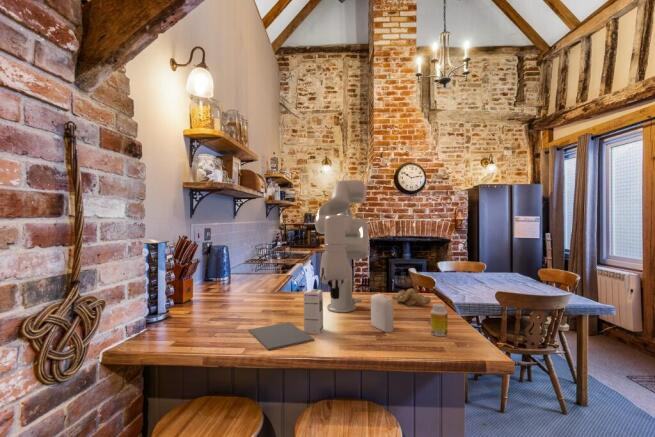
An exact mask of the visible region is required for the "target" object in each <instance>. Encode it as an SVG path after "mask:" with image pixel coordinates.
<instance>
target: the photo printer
mask: <svg viewBox="0 0 655 437" xmlns="http://www.w3.org/2000/svg"><path fill="white" fill-rule="evenodd" d="M394 323H395V322H394V302H393V300H392V299H391V298H390V297H389V296H387V295H386V294H383V293H375V294H373V295H372V296H371V297H370V324H371V326H373V327H374V328H376V329H379V330H380V331H382V332H386V333H392V332H393V331H394V330H395V329H394V326H395V324H394Z"/></svg>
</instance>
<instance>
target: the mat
mask: <svg viewBox="0 0 655 437" xmlns="http://www.w3.org/2000/svg"><path fill="white" fill-rule="evenodd" d="M248 332H249V333H250V335H252V336H253V337H254V338H255V340H257V341H258V342H259V343H260V344H261V345H262V346H263V347H265V349H266V350H267V351H272V350H277V349H282V348H285V347H292V346H295V345H300V344H305V343H309V342H314V341H315V338H314V337H312V336H311V335H310V334H308V333H305V332H304V330H302V329H300V328H299V327H297V326H296V325H295V324H293V323H291V322H289V321H288V322H283V323H278V324H273V325H266V326H261V327H254V328H250V329H248Z"/></svg>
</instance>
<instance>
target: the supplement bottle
mask: <svg viewBox="0 0 655 437" xmlns="http://www.w3.org/2000/svg"><path fill="white" fill-rule="evenodd" d="M430 333H431V335H433V336H434V337H447V335H448V311H447V310H446V305H445V304H443V303H433V305H432V309H431V310H430Z"/></svg>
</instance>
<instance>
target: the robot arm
mask: <svg viewBox="0 0 655 437" xmlns="http://www.w3.org/2000/svg"><path fill="white" fill-rule="evenodd" d="M367 196H368V195H367V189H366V185H365V183H364V182H363V181H362V180H359V179H358V180H356V179H355V180H352V179H351V180H339V181H336V182H335V183H334V185H333V187H332V189H331V191H330V199H328V200H327V201H325V202H324V203H323V204H322V205H320V206H319V208H318V210H317V213H316V216H315V220H314V222H315V223H314V227H315V230H316V232H317V233H319V234H321V235H324V252H322V253H321V254H322V255H321V257H320V258H321V259H320V266H319V267H320V269H319V277H320V279H321V283H322V284H324V285H327V286H328V288H330V290H329V292H330V293H329V294H330V303H329V304H327V306H326V309H327V310H328V311H330V312H333V313H350V312H354V311H355V310H356V309H357V306H356V305H355V304H356V303H357V304H359V303H362V298H360V297H358V298H356V297H353V268H352V266H351V264H350V263H349V260H364V259H366V258H367V257H368V256H369V245H370V244H369V242H370V241H369V238H370V237H369V234H370V232H369V229H370V228H369V225H368V222H367V220H365V219H363V218H362V219H361V218H354V213H353V212H352V209H350V206H351V204H364V203H365V202H366V200H367Z"/></svg>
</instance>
